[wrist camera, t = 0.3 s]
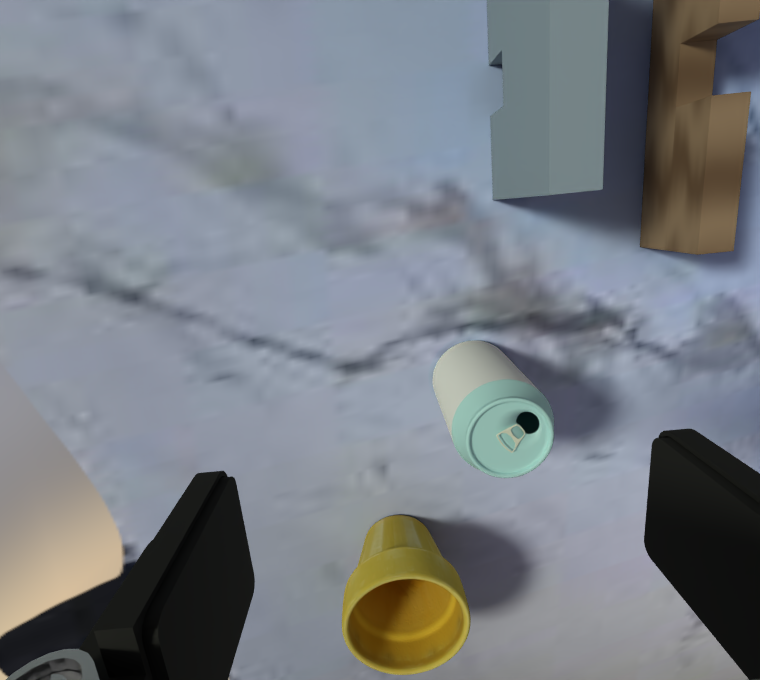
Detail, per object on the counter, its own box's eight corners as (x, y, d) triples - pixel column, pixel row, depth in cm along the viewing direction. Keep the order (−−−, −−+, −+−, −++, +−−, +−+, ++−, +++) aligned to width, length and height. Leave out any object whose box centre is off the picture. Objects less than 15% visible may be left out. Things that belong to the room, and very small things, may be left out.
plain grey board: (485, -33, 33) (549, -164, 21) (527, -37, 33) (614, -171, 21) (492, 200, 37) (549, 195, 26) (529, 196, 37) (602, 189, 26)
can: (441, 331, 40) (471, 380, 29) (518, 346, 41) (578, 399, 29) (423, 404, 42) (445, 478, 30) (497, 417, 43) (546, 495, 31)
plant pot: (438, 590, 48) (456, 683, 38) (340, 579, 47) (333, 671, 38) (459, 505, 45) (484, 583, 36) (355, 491, 44) (352, 567, 35)
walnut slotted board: (659, -102, 32) (736, -185, 25) (694, -105, 32) (781, -189, 25) (640, 246, 39) (697, 254, 32) (669, 243, 39) (733, 250, 32)
